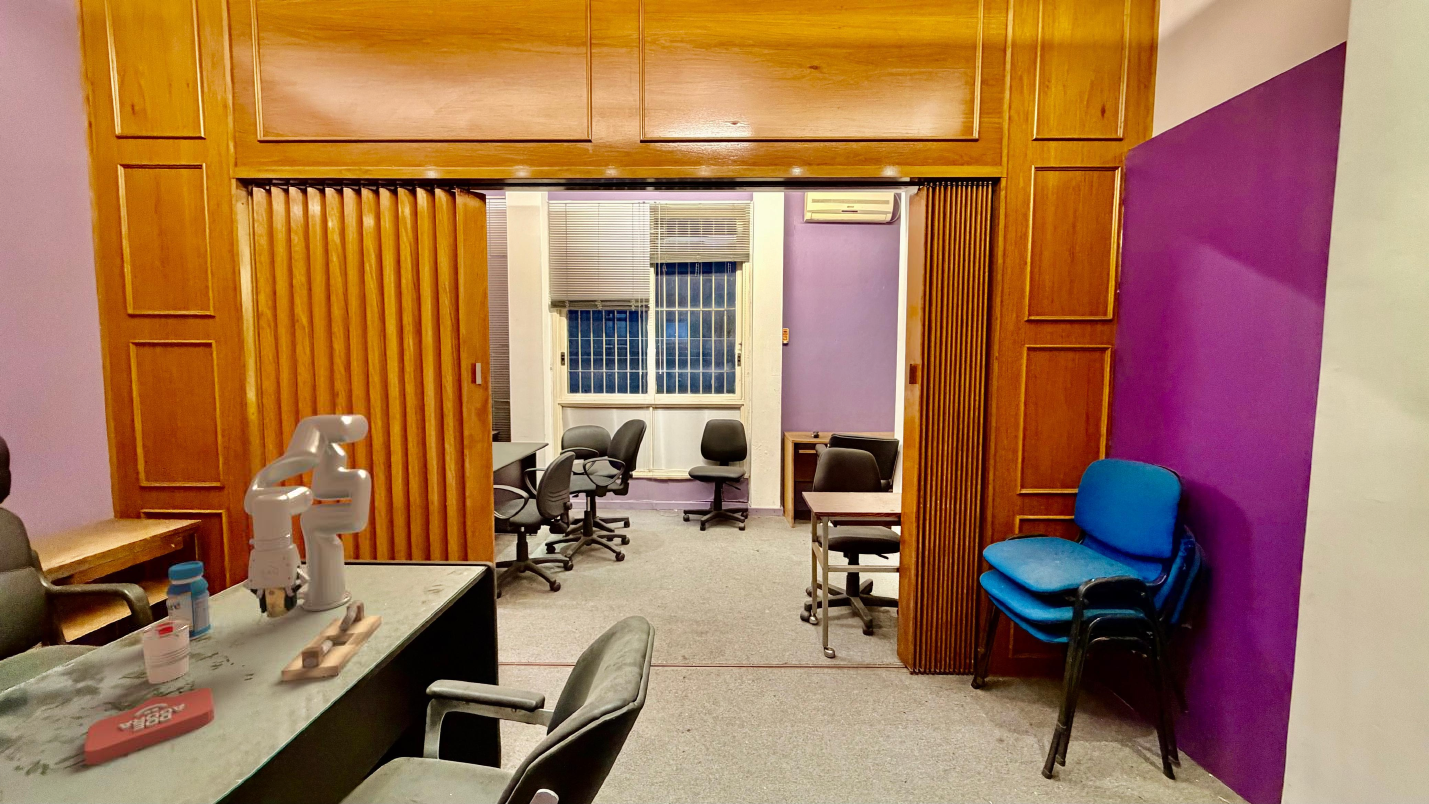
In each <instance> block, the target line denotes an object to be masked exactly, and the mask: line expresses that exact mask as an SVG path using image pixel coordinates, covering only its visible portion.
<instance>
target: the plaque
mask: <svg viewBox="0 0 1429 804" xmlns="http://www.w3.org/2000/svg"><path fill="white" fill-rule="evenodd" d="M214 719H215V710H214V701H213V695H212V689H211V688H210V687H201V688H198V689H195V690H192V691H187V692H184V693H181V694H178V695H175V696H153V697H151V698H149V699H147V700H146V701H144V702H142V703H141V704H139V705H137V706H136V707H134V708H132V709H131V710H128V711H125V712H122V713H121V712H120V713H118V714H116V715H113V716H109V717H106V718H104V719H101V720H98V721H97V722H95V723H93V724H92V725H90V726H89V727H88V728H87V733H86V739H85V744H84V751H83V752H84V758H85V759H84V760H85V764H86V765H87V766H94V765H98V764H101V763H104V762H107V761H109V760H113V759H115V758H118V757H121V756H123V755H126V754H129V753H132V752H135V751H137V750H136V749H138V750H140V749H139V748H141V747H143V748H146V747H148V746H149V747H150V746H152V745H154V744H155V745H156V744H157V743H161V742H162V741H166V740H168V739H171V738H174V737H176V736H180V735H183V734H186V733H188V732H190V731H193V730H196V729H199V728H202V727H206V725H208V724H210V723H211V722H213V720H214ZM145 746H146V747H145ZM141 749H142V748H141ZM134 750H135V751H134Z"/></svg>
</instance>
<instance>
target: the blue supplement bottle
mask: <svg viewBox="0 0 1429 804" xmlns="http://www.w3.org/2000/svg"><path fill="white" fill-rule="evenodd" d="M167 572H168V580H169V581H170V582H171V583H170V584H169V586H168V587H167V589H166V595H165V596H167V599H166V603H165V604H166V607H167V612H168V621H173V620H189V621H190V624H189V641H192V640H195V639H198V638H201V637H203V636H205V635H207V634H208V633H209V632H210V631H211V629H212V625H211V622H210V620H211V619H210V605H209V604H210V603H209V598H210V592H209V590H208V587H209V584H208V582H207V580H206V579H205V578H204V577H203V575H204V564H203V561H198V560H197V561H195V560H194V561H188V562H182V563H179V564H176V565H172V566H171V567H169V568H168V571H167Z"/></svg>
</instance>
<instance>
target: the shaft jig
mask: <svg viewBox="0 0 1429 804" xmlns="http://www.w3.org/2000/svg"><path fill="white" fill-rule="evenodd" d="M381 625H382V615H381V614H380V615H379V614H378V615H377V614H376V615H366V616H365V602H362V601H361V600H359V599H354V600H353V601H352V602H351V603H349V604H348V605H347V606H346V613H345V616H344V617H343V618H334V619H333V620H332V621H331V622H330V623H329V624H328V625H327V626H326V627H325V628H324V629H323V630H322V631H321V632H320V633H319V634H317V636H316V637H315V638H313V639H312V641H310V643H309V644H308V645H306V646H305V647H304V648H303V649H302V650H301V651H300V652H299V653H298V654H297V655H296V656H295V657H294V658H293V659H292V660H291V661H290V662H289V663H288V664H287V665H286V666H285V667H284V668H282V670H280V673H281V674H280V675H281V681H283V682H284V681H295V680H304V679H313V678H314V677H315V678H323V677H322V676H325V677H327V676H326V675H334V676H337V675H336V674H339V673H340V674H341V673H342V671H343V670H344V669H345V668H346V666H347V665H348V664H349V663H350V662H349V661H351V660H352V659H353V658H354V657H355V656H356V654H357V653H358V652H359V651H360V650H361V649H362V647H363V646H364V645H365V644H366V643H367V641H368V640H369V639H370V638H371V637H372V636H373V634H374V633H375V631H376V630H378V628H380V626H381ZM369 637H370V638H369ZM368 638H369V639H368ZM367 639H368V640H367ZM366 640H367V641H366ZM344 642H346V643H345V644H344ZM333 643H335V644H342V643H343V644H344V645H335V646H333V645H334V644H333ZM364 643H365V644H364ZM363 644H364V645H363ZM362 645H363V646H362ZM361 646H362V647H361ZM359 649H360V650H359ZM358 650H359V651H358ZM357 651H358V652H357ZM356 652H357V653H356ZM354 655H355V656H354ZM353 656H354V657H353ZM352 657H353V658H352ZM351 658H352V659H351ZM350 659H351V660H350ZM348 662H349V663H348ZM347 663H348V664H347ZM346 664H347V665H346ZM344 667H345V668H344ZM343 668H344V669H343ZM342 669H343V670H342ZM341 670H342V671H341ZM340 674H339V675H340Z"/></svg>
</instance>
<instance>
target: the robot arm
mask: <svg viewBox="0 0 1429 804" xmlns="http://www.w3.org/2000/svg"><path fill="white" fill-rule="evenodd" d="M368 431H369V423H368V420H367V418H366V417H365V416H363V415H361V414H319V415H313V416H308V417H305V418H303V419H302V420H300V421H299V422H298V423H297V425H296V428H295V431H294V432H293V434H292V437H291V439H290V442H289V443H288V446H287V449H286V451H285V453H284V454H283V455H282V456H280V457H278V458H277V459H275V460H273V461H272V462H270V463H269V464H268V465H266V466H264V467H262V469H261V470H259V471H258V472H257V473H256V475H254V477H253V478H252V481H251V482H250V485H249V487H248V488H247V491H246V493H245V496H244V499H243V500H244V501H243V507H244V510H245V511H244V512H246V513H247V514H248V515H250V516H252V523H253V524H252V525H253V526H252V527H253V535H254V536H253V538H251V539H249V541H248V544H249V545H253V547H254V549H252V550H251V551H250V555H249V559H248V560H249V562H248V571H247V572H248V574H247V575H248V578H247V579H246V581H245V582H244V583H243V584H242V587H243V588H245V589H246V590H248V591H250V592H251V593H252V594H253V595H255V596H256V599H257V600H258V601H259V602H258V603H259V609H260V612H261V613H260V614H265V613H266V599H265V589H268V588H282V587H285V589H286V591H287V594H288V596H287V597H286V610H287V611H291V610H293V609H294V608H296V607H297V605H298V600H304V601H303V602H302V604H301V607H302V609H303V610H304V611H308V612H319V611H326V610H331V609H335V608H337V607H341V606H343V605H344V604H347V603H348V602H349V601H350V600H351V599H352V593H351V591H348V590H346V574H345V557H344V555H345V553H344V545H343V542H342V540H341V539H340V538H339V536H337V535H339V534H351V533H359V532H362V531H364V529H366V527H367V525H368V522H369V515H370V505H371V504H370V503H371V495H372V493H371V492H372V479H371V474H370V473H369V472H368V471H367V470H365V469H363V468H362V469H361V468H353V469H347V461H348V454H347V453H346V451H345V450H344V449H343V448H342V447H341V446H340V445H339V444H348V443H349V444H350V443H351V444H352V443H355V442H358V441H361V440H363V439H364V438H365V437H366V436H367V434H368ZM312 470H313V472H312V480H311V487H310V488H309V487H307V486H303V485H291V486H290V485H289V486H276V485H277V484H279V483H281V482H283V481H285V480H286V479H289V478H293V477H295V476H298V475H300V474H304V473H306V472H309V471H312ZM314 499H315V500H318V501H337V500H339V501H340V500H351V502H339V503H337V502H333V503H318V504H314V505H313V503H314ZM298 515H300V518H299V524H300V525H299V526H300V528H301V531H302V532H301V533H302V535H303V539H304V547H305V548H304V549H305V560H306V561H305V562H306V563H305V565H306V573H305V572H304V571H303V570H302V569H303V566H302V562H301V561H302V560H301V556H300V553H299V549H298V546H297V544H296V543H294V538H293V537H294V536H293V524H292V521H293V519H292V517H294V516H298ZM297 581H299V583H297ZM305 585H307V589H306V590H301V589H302V588H303V587H305ZM291 612H292V611H291Z"/></svg>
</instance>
